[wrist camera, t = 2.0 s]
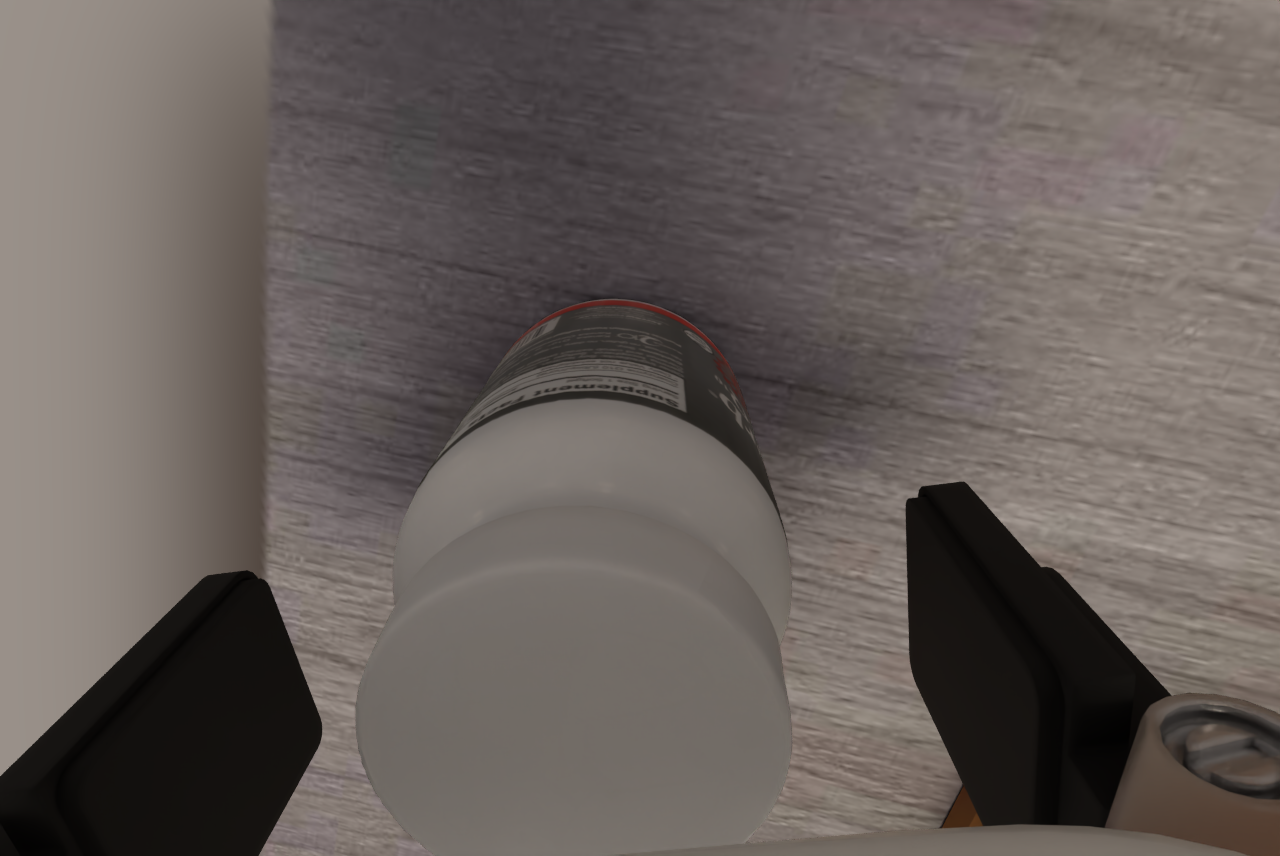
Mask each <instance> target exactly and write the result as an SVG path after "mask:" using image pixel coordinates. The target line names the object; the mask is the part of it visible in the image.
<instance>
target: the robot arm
mask: <svg viewBox="0 0 1280 856" xmlns="http://www.w3.org/2000/svg"><path fill="white" fill-rule="evenodd" d="M906 541H907V580H908V618H909V655H910V664H911V669H912V673H913V677H914V680H915V682H916V685H917V687H918V689H919V691H920V693H921V696H922V698H923V700H924V702H925V704H926V706H927V708H928V710H929V713H930V715H931V717H932V719H933V721H934V723H935V725H936V727H937V729H938V732H939V734H940V736H941V738H942V740H943V742H944V744H945V746H946V749H947V751H948V753H949V755H950V757H951V759H952V761H953V763H954V766H955V768H956V770H957V772H958V774H959V776H960V778H961V780H962V782H963V785H964V787H965V789H966V791H967V793H968V795H969V797H970V799H971V802H972V804H973V806H974V808H975V810H976V812H977V814H978V816H979V818H980V821H981V823H982V825H983V826H980V827H961V828H940V829H919V830H898V831H887V832H876V833H864V834H852V835H840V836H828V837H816V838H804V839H792V840H781V841H769V842H757V843H745V844H734V845H722V846H710V847H698V848H687V849H675V850H663V851H651V852H639V853H628V854H616V855H604V856H1280V714H1278V713H1276V712H1274V711H1272V710H1269V709H1266V708H1264V707H1261V706H1258V705H1256V704H1253V703H1250V702H1248V701H1245V700H1240V699H1236V698H1231V697H1227V696H1222V695H1217V694H1202V693H1186V694H1180V695H1174V696H1171V694H1170V693H1169V692H1168V691H1167V690H1166V689H1165V688H1164V687H1163V686H1162V685H1161V684H1160V683H1159V681H1158V680H1157V679H1156V678H1155V677H1154V676H1153V675H1152V674H1151V673H1150V672H1149V671H1148V669H1147V668H1146V667H1145V666H1144V665H1143V664H1142V663H1141V662H1140V661H1139V660H1138V659H1137V657H1136V656H1135V655H1134V654H1133V653H1132V652H1131V651H1130V650H1129V649H1128V648H1127V647H1126V645H1125V644H1124V643H1123V642H1122V641H1121V640H1120V639H1119V638H1118V637H1117V636H1116V635H1115V633H1114V632H1113V631H1112V630H1111V629H1110V628H1109V627H1108V626H1107V625H1106V624H1105V623H1104V621H1103V620H1102V619H1101V618H1100V617H1099V616H1098V615H1097V614H1096V613H1095V612H1094V611H1093V609H1092V608H1091V607H1090V606H1089V605H1088V604H1087V603H1086V602H1085V601H1084V600H1083V599H1082V597H1081V596H1080V595H1079V594H1078V593H1077V592H1076V591H1075V590H1074V589H1073V588H1072V587H1071V585H1070V584H1069V583H1068V582H1067V581H1066V580H1065V579H1064V578H1063V577H1062V576H1061V575H1060V574H1059V573H1058V572H1057V571H1055V570H1054V569H1053V568H1049V567H1040V566H1039V564H1038V563H1037V562H1036V561H1035V560H1034V559H1033V558H1032V556H1031V555H1030V554H1029V553H1028V552H1027V551H1026V550H1025V549H1024V547H1023V546H1022V545H1021V544H1020V543H1019V542H1018V541H1017V540H1016V538H1015V537H1014V536H1013V535H1012V534H1011V533H1010V532H1009V531H1008V529H1007V528H1006V527H1005V526H1004V525H1003V524H1002V523H1001V522H1000V520H999V519H998V518H997V517H996V516H995V515H994V514H993V513H992V511H991V510H990V509H989V508H988V507H987V506H986V505H985V504H984V502H983V501H982V500H981V499H980V498H979V497H978V496H977V495H976V493H975V492H974V491H973V490H972V489H971V488H970V487H969V486H968V484H966V483H965V482H955V483H947V484H939V485H931V486H923V487H921V488H920V490H919V494H918V498H909V499H908V500H907V502H906ZM321 737H322V722H321V719H320V716H319V713H318V711H317V708H316V705H315V703H314V700H313V698H312V695H311V692H310V690H309V687H308V685H307V682H306V679H305V677H304V674H303V672H302V669H301V667H300V664H299V661H298V659H297V656H296V654H295V651H294V648H293V646H292V643H291V641H290V638H289V635H288V633H287V630H286V628H285V625H284V622H283V620H282V617H281V615H280V612H279V609H278V607H277V604H276V602H275V599H274V597H273V594H272V591H271V589H270V587H269V585H268V583H267V582H266V581H265V580H263V579H258V578H257V576H256V575H255V574H254V573H253V572H250V571H247V570H246V571H238V572H232V573H222V574H215V575H208V576H206V577H205V578H203V579H202V580H201V581H200V582H199V583H198V584H197V585H196V586H195V587H194V588H193V589H191V590H190V591H189V592H188V593H187V594H186V595H185V596H184V597H183V598H182V599H181V600H180V601H179V602H178V603H177V604H176V605H175V606H174V607H173V608H172V609H171V610H170V611H169V612H168V613H167V614H166V615H165V616H164V617H163V618H162V619H161V620H160V621H159V622H158V623H157V624H156V625H155V626H154V627H153V628H152V629H151V630H150V631H149V632H147V633H146V634H145V635H144V636H143V637H142V638H141V640H139V641H138V642H137V643H136V644H135V645H134V646H133V647H132V648H131V649H130V650H129V651H128V652H127V653H126V654H125V655H124V656H123V657H122V658H121V659H120V660H119V661H118V662H117V663H116V664H115V665H114V666H113V667H112V668H111V669H110V670H109V671H108V672H107V673H106V674H105V675H104V676H103V677H101V678H100V679H99V680H98V681H97V682H96V683H95V684H94V685H93V686H92V687H91V688H90V689H89V690H88V691H87V692H86V693H85V694H84V695H83V696H82V697H81V698H80V699H79V700H78V701H77V702H76V703H75V704H74V705H73V706H72V707H71V708H70V709H69V710H68V711H67V712H66V713H65V714H64V715H63V716H62V717H61V718H60V719H58V721H57V722H55V723H54V724H53V725H52V726H51V727H50V728H49V729H48V730H47V731H46V732H45V733H44V734H43V735H42V736H41V737H40V738H39V739H38V740H37V741H36V742H35V743H34V744H33V745H32V746H31V747H30V748H29V749H28V750H27V751H26V752H25V753H24V754H23V755H22V756H21V757H20V758H19V759H18V760H17V761H16V762H15V763H13V764H12V765H11V766H10V767H9V768H8V769H7V770H6V771H5V772H4V773H3V774H2V775H1V776H0V856H259V854H260V852H261V850H262V848H263V846H264V845H265V843H266V841H267V839H268V837H269V836H270V834H271V832H272V830H273V828H274V827H275V825H276V823H277V821H278V819H279V818H280V816H281V814H282V812H283V810H284V808H285V807H286V805H287V803H288V801H289V799H290V798H291V796H292V794H293V792H294V790H295V789H296V787H297V785H298V783H299V781H300V780H301V778H302V776H303V774H304V772H305V770H306V769H307V767H308V765H309V763H310V761H311V760H312V758H313V756H314V754H315V752H316V751H317V749H318V747H319V744H320V741H321Z"/></svg>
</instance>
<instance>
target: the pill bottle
mask: <svg viewBox="0 0 1280 856" xmlns="http://www.w3.org/2000/svg"><path fill="white" fill-rule="evenodd" d="M393 594H394V603H395V607H394V609H393V611H392V613H391V614H390V616H389V618H388V620H387V622H386V624H385V626H384V628H383V631H382V633H381V635H380V637H379V639H378V641H377V643H376V645H375V647H374V649H373V651H372V653H371V655H370V657H369V659H368V662H367V664H366V667H365V670H364V673H363V676H362V679H361V682H360V686H359V690H358V695H357V701H356V736H357V742H358V749H359V753H360V756H361V759H362V765H363V767H364V769H365V771H366V775H367V777H368V779H369V781H370V783H371V785H372V787H373V789H374V791H375V793H376V794H377V796H378V797H379V798H380V800H381V802H382V804H383V805H384V806H385V807H386V809H387V810H388V811H389V812H390V813H391V815H392V816H393V817H394V818H395V820H396V821H397V822H398V823H399V825H400V826H401V827H402V828H403V829H404V830H405V831H406V832H407V833H408V834H409V835H410V836H412V837H413V838H414V839H415V840H416V841H418V842H419V843H420V844H421V845H422V846H423V847H424V848H426V849H427V850H428V851H430V852H431V853H432V854H434V855H435V856H604V855H616V854H628V853H639V852H651V851H663V850H675V849H687V848H698V847H710V846H722V845H734V844H744V843H746V842H747V841H748V840H749V839H750V837H751V836H752V835H753V834H754V833H755V832H756V831H757V829H758V828H759V827H760V826H761V825H762V824H763V822H764V821H765V820H766V818H767V816H768V815H769V813H770V811H771V810H772V808H773V806H774V804H775V803H776V801H777V799H778V797H779V795H780V793H781V791H782V789H783V786H784V783H785V780H786V776H787V772H788V768H789V764H790V758H791V751H792V727H791V713H790V708H789V702H788V697H787V691H786V686H785V680H784V675H783V666H782V657H781V651H780V645H781V642H782V639H783V637H784V634H785V631H786V627H787V623H788V619H789V612H790V604H791V596H792V572H791V563H790V556H789V550H788V544H787V538H786V534H785V531H784V527H783V523H782V520H781V517H780V513H779V510H778V507H777V503H776V500H775V497H774V495H773V492H772V488H771V485H770V482H769V479H768V476H767V473H766V469H765V466H764V463H763V460H762V457H761V454H760V450H759V447H758V444H757V441H756V438H755V435H754V431H753V427H752V424H751V421H750V417H749V414H748V411H747V408H746V405H745V402H744V399H743V396H742V393H741V390H740V387H739V385H738V382H737V380H736V378H735V375H734V373H733V371H732V370H731V368H730V366H729V364H728V362H727V361H726V359H725V358H724V356H723V355H722V354H721V352H720V351H719V350H718V348H717V347H716V346H715V345H714V344H713V342H712V341H711V340H710V339H709V338H708V337H707V336H706V335H705V334H704V333H702V332H701V331H700V330H699V329H698V328H697V327H695V326H694V325H692V324H691V323H690V322H688V321H687V320H685V319H684V318H682V317H680V316H678V315H676V314H674V313H672V312H670V311H668V310H666V309H663V308H661V307H659V306H655V305H652V304H649V303H644V302H640V301H634V300H626V299H600V300H592V301H587V302H583V303H578V304H575V305H572V306H569V307H566V308H564V309H561V310H559V311H557V312H555V313H553V314H551V315H549V316H547V317H545V318H544V319H542V320H541V321H539V322H538V323H537V324H535V325H534V326H533V327H531V328H530V329H529V330H528V331H527V332H525V333H524V334H523V335H522V336H521V337H520V338H519V339H518V340H517V341H516V342H515V343H514V344H513V346H512V347H511V348H510V349H509V351H508V352H507V353H506V355H505V356H504V358H503V359H502V360H501V362H500V364H499V365H498V367H497V368H496V369H495V371H494V372H493V373H492V375H491V376H490V378H489V380H488V382H487V383H486V385H485V386H484V388H483V389H482V391H481V393H480V394H479V396H478V397H477V399H476V400H475V402H474V403H473V404H472V406H471V407H470V409H469V410H468V412H467V414H466V415H465V417H464V418H463V420H462V421H461V423H460V424H459V426H458V427H457V429H456V430H455V432H454V434H453V435H452V437H451V438H450V439H449V441H448V442H447V444H446V446H445V447H444V449H443V450H442V451H441V453H440V454H439V456H438V458H437V459H436V461H435V462H434V464H433V465H432V466H431V468H430V469H429V471H428V472H427V474H426V475H425V477H424V479H423V480H422V482H421V483H420V485H419V487H418V489H417V491H416V494H415V496H414V498H413V500H412V502H411V504H410V506H409V508H408V510H407V513H406V515H405V517H404V520H403V523H402V525H401V528H400V531H399V535H398V539H397V543H396V548H395V555H394V563H393Z"/></svg>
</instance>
